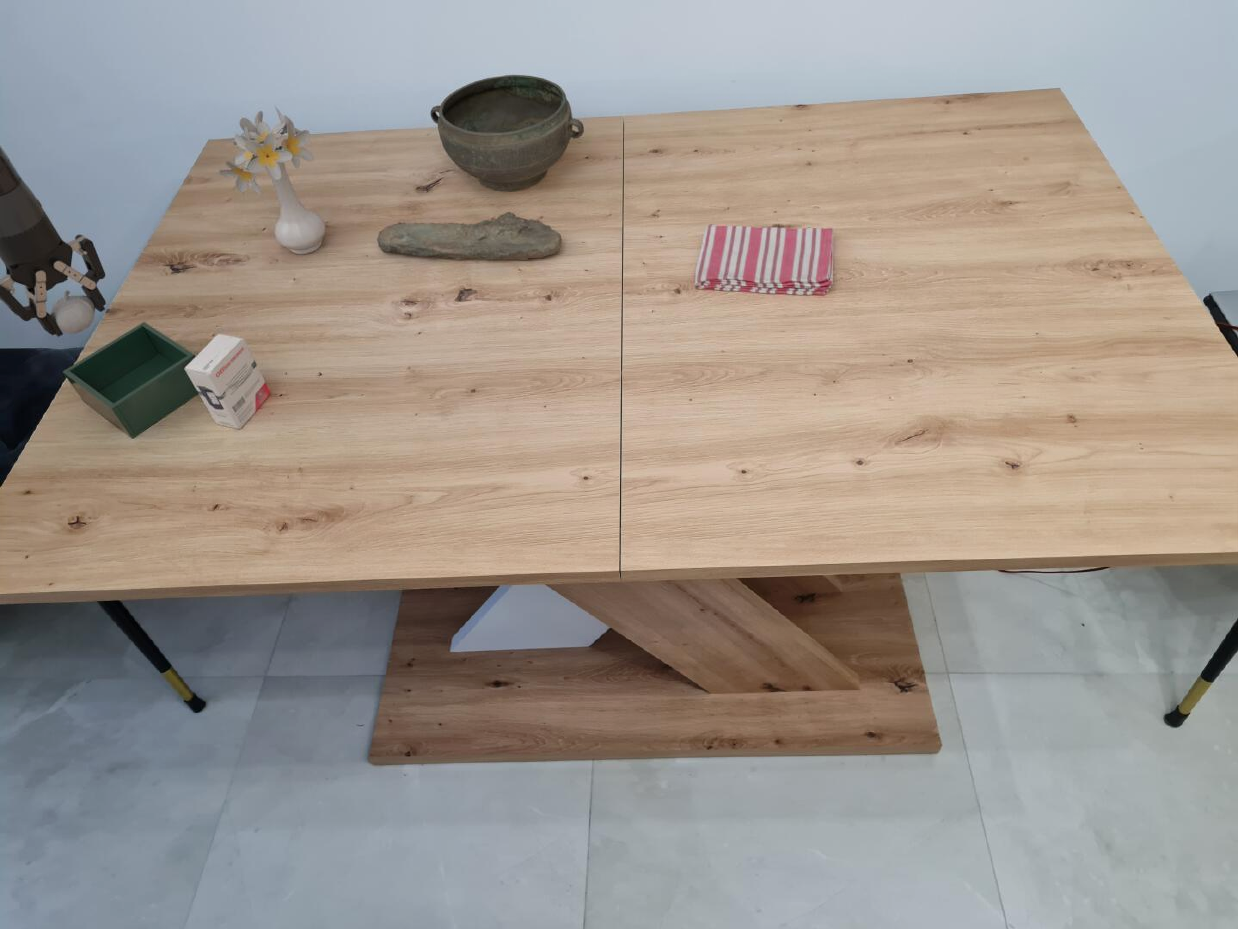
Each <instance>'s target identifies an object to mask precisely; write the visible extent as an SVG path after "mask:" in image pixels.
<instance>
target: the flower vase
mask: <svg viewBox="0 0 1238 929" xmlns="http://www.w3.org/2000/svg"><path fill="white" fill-rule="evenodd" d="M274 108H275V110H276V113H277V115H278V118H279V121H280V123H278V124H276V125H274V126H273V127H272V128H270V126H269V124H268V123H267V122H266V121H263V119H264V118H263V116H264V113H263V111H262V110H259V111H258V112H257V113H256V114H255V117H254V120H253V122H252V121H251V120H250V119H249V118H247V117H241V118H240V119H239V127H240V129H241V130H242V131H243V132H242V133H241V134H239V133H235V134H234V135H233V136H234V137H233V138H234V140H233V142H232V143H233V145H234V146H238V148H240V149H241V151H239V152H238V153H237V155H236V156H235V159H234V163H233V162H231V161H229V160H225V161H224V162H225V165H226V166H227V167H228V168H222V169H219V170H218V173H219V174H220V175H221V176H223V177H225V178H230V179H235V178H236V180H235V187H236V189H237V191H238V192H239V193H242V194H243V193H246V192H247V191H248V187H250V188H251V189H252V190H253V191H254V192H255V193H256V194H259V195H262V194H263V191H262V189H261V188H260V186H259V185H258V183H257V182H256V179H257V177H256V175H255V174H258V173H260V172H261V171H263V170H264V169H265V170H266V171H267V174H268V175H269V177H270V179H271V183H272V185H273V187H274V188H273V189H274V191H275V194H276V197H277V199H278V203H279V210H280V211H279V217H278V218H277V221H276V223H275V225H274V237H275V240H276V241H277V243H278V244H279V245H280V246H282V247H284V248H285V249H287V250H289V251H290V252H291V253H292V254H295V255H307V254H311V253H313V252H315V251H317V250H318V249H319V248H320V247H321V246H322V244H323V238H324V236H325V234H326V229H327V228H326V223H325V221H324V219H322V218H323V217H321V216H320V215H319V214H318V213H316V212H315V211H313V210H311V209H308V208H307V207H306V206H305V205H304V204H303V203H302V202H301V200H300V199H299V198H298V196H297V193H296V191H295V189H294V187H293V184H292V181H291V180H290V177H289V174H288V171H287V167H286V163H287V162H289V161H291V162H292V165H293V167H294V168H295V169H296V170H298V169H299V168H300V166H301V160H300V158H301V159H303V160H305V161H307V162H313V161H314V156H313V154H312V152H311V151H310V150H309V149H308V148H306V147H304V145H306V144H307V143H308V142H309V139H310V137H311V133H310V131H309V130H308V129H303V130H302V129H300V128H296V127H295V125H294V122H293V120H291V118H289V117H288V115H286V114H284V115H283V114H282V112H281V111H280V110H279V108H278V107H277V106H276V105H275V104H274ZM285 134H286V138H284V139H282V140H281V142H280V145H279V146H277V145H278V139H280V138H281V137H282V136H284V135H285ZM242 164H244V166H241V165H242Z"/></svg>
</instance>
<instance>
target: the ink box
mask: <svg viewBox="0 0 1238 929" xmlns="http://www.w3.org/2000/svg"><path fill="white" fill-rule="evenodd" d="M247 343H248V342H246V339H245V337H238V336H233V335H230V334H224V333H218V334H216V335H215V336H214V338H212V339H211V341H209V343H208V344H206V346H205V347H204V348H203V349H202V350H200V352H199V353H198V354H197V355H195V356H196V357H195V358H194V359H193V360H192V361H191V362H190V363H189V364H188V365H187V366H186V367H185V368H184V369H185V371H186V373H187V374H188V376H189V378H190V379H191V381H192V383H193V385H194V386H195V388H196V390H197V391H198V393H199V394H198V395H199V397H200V399H201V400H202V402H203V403H204V406H205V407H206V409H207V410H208V413H209V414H210V416H211V417H212V419H213V421H214V423H215V424H216V425H221V426H223V427H228V428H231V429H236V430H241V429H242V428H243V427H244V426H245V425H246V423H248V421H249V420H250V419H251V417H252V416H253V415H254V414H255V413H256V412H257V411H258V409H259V408H260V407H261V406H262V405H263V404H264V403H265V401H266V400H267V399H268V398H269V397H270V396H271V394H272V393H271V391H270V389H269V387H268V384H267V383H266V381H265V379H264V376H263V375H262V372H261V370H260V368H259V366H258V363H257V361H256V360H255V358H254V356H253V353H252V352H251V350H250V348H249V344H247Z"/></svg>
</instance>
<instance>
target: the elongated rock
mask: <svg viewBox="0 0 1238 929" xmlns="http://www.w3.org/2000/svg"><path fill="white" fill-rule="evenodd" d="M376 241H377V244H378V247H379V248H380V250H381V251H383V252H384V253H391V254H392V253H394V254H396V253H397V254H400V255H412V256H421V257H424V258H431V257H432V258H433V257H434V258H435V257H437V258H444V259H452V260H458V261H460V260H465V259H477V260H481V259H483V260H486V261H491V260H495V261H499V260H513V261H514V260H515V261H528V260H529V259H535V258H537V259H538V258H539V259H541V258H544V257H549V256H551V255H555V254H557V253H558V251H559V250H560V248H561V246H562V243H563V239H562V235H561V234H560V233H559V232H557V231H556V230H554V229H552V226H550V225H547V224H545V223H542V222H540V221H539V220H535V219H527V218H522V217H520V216H516V214H515V213H514V212H511V211H506V212H505V213H503V214H500V215H499V216H497V218H495V219H491V220H489V219H487V220H486V219H484V220H482V221H480V222H477V223H474V224H472V223H468V224H467V223H464V222H463V223H458V222H448V223H447V222H446V223H445V222H443V223H441V222H438V223H437V222H436V223H435V222H429V223H427V222H413V223H407V222H401V221H398V223H393V224H391V225H388V226H385V227H384V228H383V229H382V230H380V231H378V235H377V238H376Z"/></svg>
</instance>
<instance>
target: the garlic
mask: <svg viewBox="0 0 1238 929" xmlns="http://www.w3.org/2000/svg"><path fill="white" fill-rule="evenodd" d="M69 294H71V292H70V290H65V291H64V293H63V297H62V298H60V299H58V300H57V301H55V302H54V303H53V304H52V308H51V312H50V315H51V316H52V318H53V319H54V321H55V322H56V324H57V325H58V327H59V328H60V330H61V331H62V333H65V334H69V335H75V334H78V333H80V332H82V331H84V330H86V329H88V328H89V327H91V325H92V324H93V321H94V318H95V315H96V314H95V313H96V309H95V306H94V303H93V301H92V300H91V299H90V298H89V297H87V296H86V295H83V294H81V295H69Z"/></svg>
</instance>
